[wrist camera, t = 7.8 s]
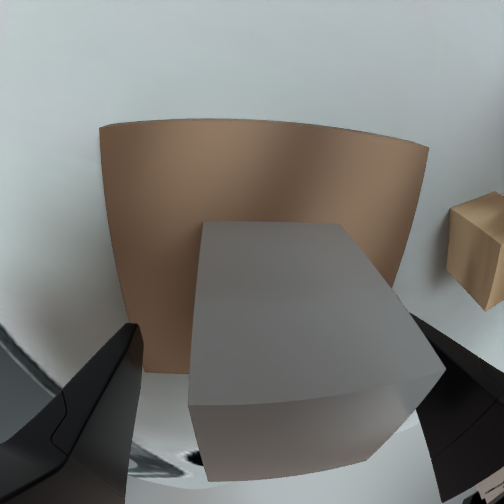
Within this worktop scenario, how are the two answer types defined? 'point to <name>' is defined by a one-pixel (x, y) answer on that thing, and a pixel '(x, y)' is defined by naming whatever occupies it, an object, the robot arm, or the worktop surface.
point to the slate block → (297, 352)
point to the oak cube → (478, 248)
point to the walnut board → (240, 204)
